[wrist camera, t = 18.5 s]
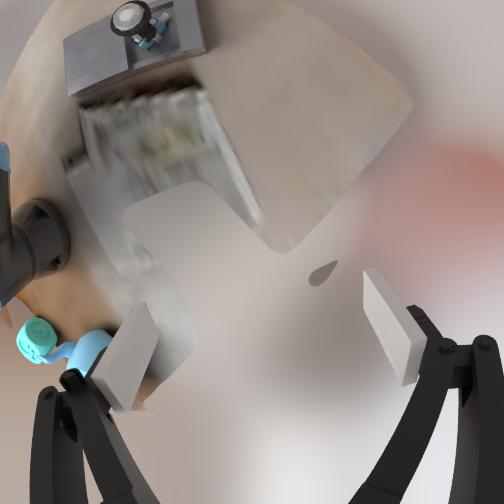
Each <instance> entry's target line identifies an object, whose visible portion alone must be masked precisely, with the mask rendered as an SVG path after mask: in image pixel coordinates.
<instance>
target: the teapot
mask: <svg viewBox="0 0 504 504" xmlns="http://www.w3.org/2000/svg"><path fill="white" fill-rule="evenodd" d="M112 339H113V337H111V336H110V335H108V333H107V332H106V331H105V330H103V329H98V330H93V331H90V332H88V333H86V334H85V335H84V336H82V337H81V338H80V339H79V340H78V342H77V343H76V342H65V343H63V344H62V345H60V346H59V347H58V348H57V349H56V350H55V351H54V352H52V353H51V354H49V355H45V356H43V355H35V356H36V357H37V358H38V359H39V360H41V361H42V362H44V363H47V364H51V363H54V362H56V361H57V360H58V359H59V358H61V357H66V358H69V361H68V365H67V370H68V369H71V368H77V369H79V370H80V372H81V373H82V375H83V376H84V377H85V375H86V374H87V372H88V370H89V368H90V367H91V365H93V362H94V360H96V357H97V355H98V354H99V352H100V351H101V350H102V349H103V348H104V347H108V346H109V344H110V343H111V341H112ZM139 389H140V386H139ZM139 389H138V391H139ZM138 391H137V392H138ZM132 405H133V404H132Z"/></svg>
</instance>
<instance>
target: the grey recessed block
mask: <svg viewBox="0 0 504 504" xmlns="http://www.w3.org/2000/svg"><path fill="white" fill-rule="evenodd" d="M147 5H148V6H149V8H150V11H151V16H152V17H153V18H155V19H158V18H160V17H161V16H162V15H163V14H164V13H167V14H168V16H170V17H169V19H168V20H167V21H166V23H165V24H164V25H165V26H166V28H165V30H164V31H163V32H162V33H161V34H160V36H161V39H160V40H159V41H158V42H156V41H154V43H153V44H152V45H151V46H150V48H149V49H148V50H145V49H143V48H141V47H140V46H138V45H136V44H135V43H133V42H132V41H131V40H132V39H133V37H132V36H131V37H124V36H118V35H116V34H115V33H113V31H112V30H111V27H110V21H111V18H112V16H113V15H110V16H108V17H106V18H104V19H102V20H100V21H98V22H96V23H93V24H91V25H89V26H88V27H86V28H84V29H82V30H80V31H78V32H76V33H74V34H73V35H71V36H69V37H67V38H65V39H64V40H63V45H64V61H65V73H66V83H67V92H68V96H70V97H79V98H81V97H83V96H85V95H87V94H89V93H91V92H94V91H96V90H98V89H100V88H103V87H105V86H107V85H110V84H112V83H115V82H117V81H119V80H122V79H125V78H127V77H130V76H133V75H135V74H138V73H141V72H144V71H147V70H150V69H153V68H156V67H159V66H162V65H165V64H168V63H172V62H175V61H179V60H182V59H186V58H190V57H193V56H197V55H202V54H206V53H207V48H206V43H205V37H204V32H203V27H202V22H201V17H200V11H199V6H198V1H197V0H159V1H156V2H153V3H150V4H147ZM142 9H143V8H142ZM143 11H144V12H145V10H144V9H143ZM163 17H165V15H163ZM165 19H167V17H166V18H165ZM120 31H122V32H125V31H123V30H120ZM158 39H159V38H158ZM158 39H157V40H158Z"/></svg>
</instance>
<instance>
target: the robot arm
mask: <svg viewBox="0 0 504 504" xmlns="http://www.w3.org/2000/svg"><path fill="white" fill-rule="evenodd" d="M10 173H11V169H10V151H9V147H8V145H7V144H6V143H5V142H2V141H0V310H1V309H2V307H3V306H4V305H5V304H7V303H8V302H9V301H10V300H11V299H12V298H13V297H14V296H15V295H16V294H17V293H19V292H20V291H21V290H22V289H23V288H24V287H25V286H26V285H28V284H29V283H30V282H31V281H32V280H36V279H40V278H44V277H48V276H51V275H53V274H55V273H56V272H57V271H59V270H60V269H61V268H62V267H63V266H64V265H65V263H66V261H67V259H68V255H69V236H68V232H67V229H66V226H65V224H64V221H63V220H62V218H61V216H60V215H59V213H58V212H57V211H56V209H55V208H54V207H53V206H51V205H50V204H49V203H47V202H45V201H43V200H39V199H34V200H31V201H28V202H26V203H24V204H22V205H21V206H19V207H18V208H17V209H16V211H15V212H14V213H13V214H12V215H11V206H10ZM363 271H364V272H363V273H364V296H363V310H364V311H365V313H366V315H367V317H368V319H369V321H370V322H371V325H372V327H373V328H374V331H375V333H376V335H377V337H378V339H379V341H380V342H381V344H382V347H383V348H384V351H385V353H386V355H387V357H388V359H389V361H390V363H391V365H392V367H393V369H394V371H395V373H396V375H397V378H398V380H399V382H400V384H401V386H402V387H403V386H406V385H409V384H412V383H415V382H416V381H417V377H418V374H419V375H420V377H419V380H418V382H417V385H416V387H415V390H414V392H413V394H412V396H411V399H410V401H409V403H408V405H407V407H406V410H405V412H404V414H403V416H402V418H401V420H400V422H399V424H398V426H397V428H396V430H395V432H394V434H393V436H392V437H391V439H390V441H389V443H388V445H387V446H386V448H385V450H384V452H383V454H382V455H381V457H380V459H379V460H378V462H377V464H376V465H375V467H374V469H373V470H372V472H371V473H370V475H369V477H368V478H367V480H366V481H365V482H364V483H363V484H362V485H361V487H360V488H359V489H358V491H357V492H356V493H355V495H354V496H353V498H352V499H351V501H350V502H349V503H348V504H400V502H401V500H402V498H403V495H404V493H405V491H406V489H407V487H408V485H409V483H410V481H411V480H412V478H413V476H414V474H415V472H416V469H417V467H418V465H419V463H420V461H421V459H422V457H423V455H424V452H425V450H426V448H427V446H428V443H429V441H430V438H431V436H432V434H433V431H434V428H435V426H436V423H437V420H438V418H439V415H440V412H441V409H442V406H443V403H444V400H445V397H446V394H447V391H448V389H453V388H458V389H459V390H458V391H459V392H458V393H459V408H458V411H459V412H458V434H457V448H456V458H455V467H454V474H453V480H452V487H451V492H450V498H449V503H448V504H504V375H503V369H502V364H501V358H500V354H499V349H498V345H497V342H496V340H495V339H494V338H492V337H490V336H488V335H479V336H477V337H476V338H475V339H474V341H473V343H472V345H457V343H456V342H455V341H453V340H452V339H449V338H443V336H442V335H441V334H440V332H439V331H438V330H437V328H436V327H435V326H434V324H433V323H432V322H431V320H430V319H429V318H428V317H427V315H426V314H425V312H424V311H423V310H422V309H421V308H419V307H417V306H416V305H412V306H408V307H405V306H404V304H403V303H402V302H401V300H400V299H399V297H398V296H397V295H396V293H395V292H394V291H393V289H392V288H391V287H390V286H389V284H388V283H387V282H386V280H385V279H384V278H383V277H382V275H381V274H380V273H379V271H378V270H377V269H376V268H370V269H365V270H363ZM159 338H160V336H159V333H158V331H157V329H156V326H155V324H154V322H153V319H152V317H151V314H150V312H149V309H148V307H147V304H146V302H142V303H135V304H134V306H133V307H132V309H131V311H130V312H129V314H128V315H127V317H126V318H125V320H124V322H123V323H122V325H121V326H120V328H119V330H118V331H117V333H116V334H115V336H114V338H113V339H112V341H111V343H110V344H109V346H108V347H104V348H103V349H102V350H101V351H100V352H99V354H98V355H97V357H96V360H94V362H93V365H91V367H90V368H89V370H88V372H87V374H86V375H85V377H84V376H83V375H82V373H81V372H80V370H79V369H77V368H71V369H68V370H67V371H65V372H64V373H63V374H62V375H61V377H60V379H59V382H60V383H61V385H62V386H63V387H64V389H65V390H66V391H64V392H58V390H57V389H56V388H55V387H54V386H48V387H46V388H44V389H43V390H42V391H41V392H40V394H39V396H38V402H37V408H36V414H35V421H34V429H33V438H32V448H31V462H30V504H88V498H87V490H86V482H85V473H84V462H83V449H84V452H85V455H86V458H87V461H88V464H89V466H90V469H91V471H92V474H93V476H94V479H95V481H96V484H97V486H98V489H99V491H100V493H101V495H102V498H103V502H101V503H100V504H160V503H159V501H158V500H157V498H156V496H155V495H154V493H153V492H152V490H151V489H150V487H149V485H148V484H147V482H146V480H145V479H144V477H143V476H142V474H141V472H140V470H139V469H138V467H137V465H136V463H135V461H134V460H133V458H132V456H131V454H130V452H129V450H128V449H127V446H126V444H125V443H124V441H123V439H122V437H121V434H120V432H119V431H118V428H117V426H116V424H115V422H114V420H113V417H112V415H111V414H110V413H109V410H110V408H111V407H112V408H113V410H114V411H115V412H116V413H117V414H127V415H128V414H129V412H130V409H131V407H132V404H133V401H134V399H135V396H136V394H137V391H138V389H139V386H140V384H141V381H142V379H143V376H144V374H145V371H146V369H147V367H148V364H149V362H150V359H151V357H152V355H153V352H154V350H155V348H156V345H157V343H158V340H159Z"/></svg>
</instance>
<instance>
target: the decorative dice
mask: <svg viewBox="0 0 504 504" xmlns="http://www.w3.org/2000/svg"><path fill="white" fill-rule="evenodd" d="M56 342H57V335H56V332H55V330H54V329H53V327H52V326H51V325H50V324H49V323H48V322H47V321H45V320H44V319H42V318H38V317H32V318H30V319H29V320H28V321H27V322H26V323H25V324H24V326H23V327H22V329H21V330H20V332H19V334H18V337H17V345H18V347H19V349H20V351H21V352H22V354H24V356H25V357H26V358H27V359H29V360H30V361H32V362H34V363H38V364H41V363H43V362H42V361H41V360H39V359H38V358H37V357H36V356H35V355H43V356H45V355H49V354H50V353H51V351H52V349H53V347H54V346H55V344H56Z"/></svg>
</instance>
